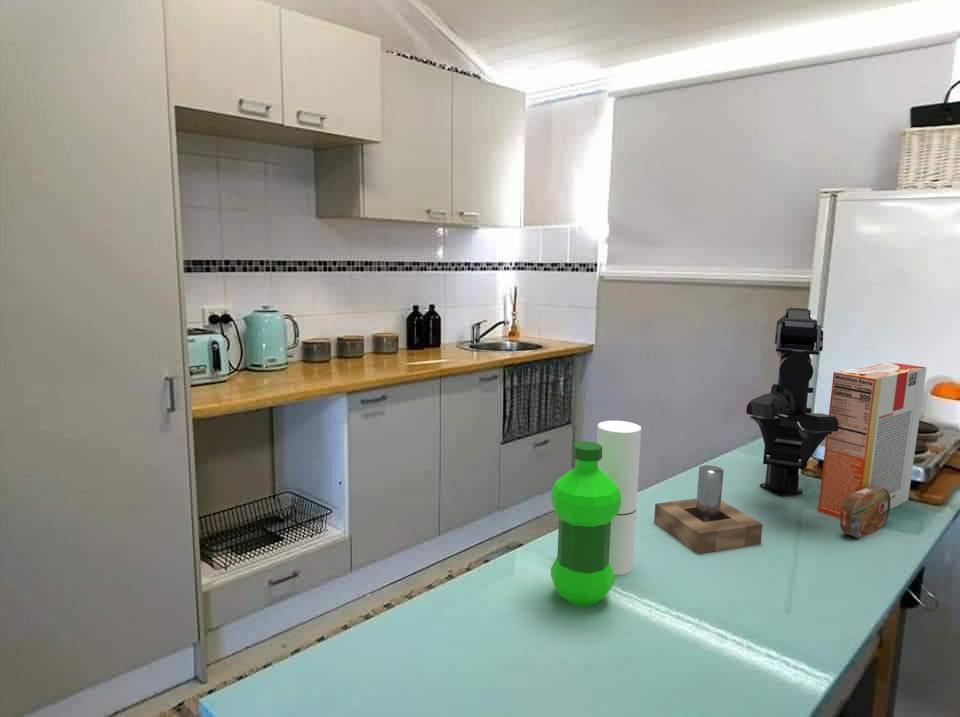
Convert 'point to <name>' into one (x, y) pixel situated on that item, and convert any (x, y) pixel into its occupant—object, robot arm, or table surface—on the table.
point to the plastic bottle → (584, 528)
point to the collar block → (707, 527)
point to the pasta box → (872, 433)
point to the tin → (865, 511)
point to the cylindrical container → (621, 486)
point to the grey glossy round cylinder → (709, 493)
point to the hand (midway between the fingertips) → (785, 457)
